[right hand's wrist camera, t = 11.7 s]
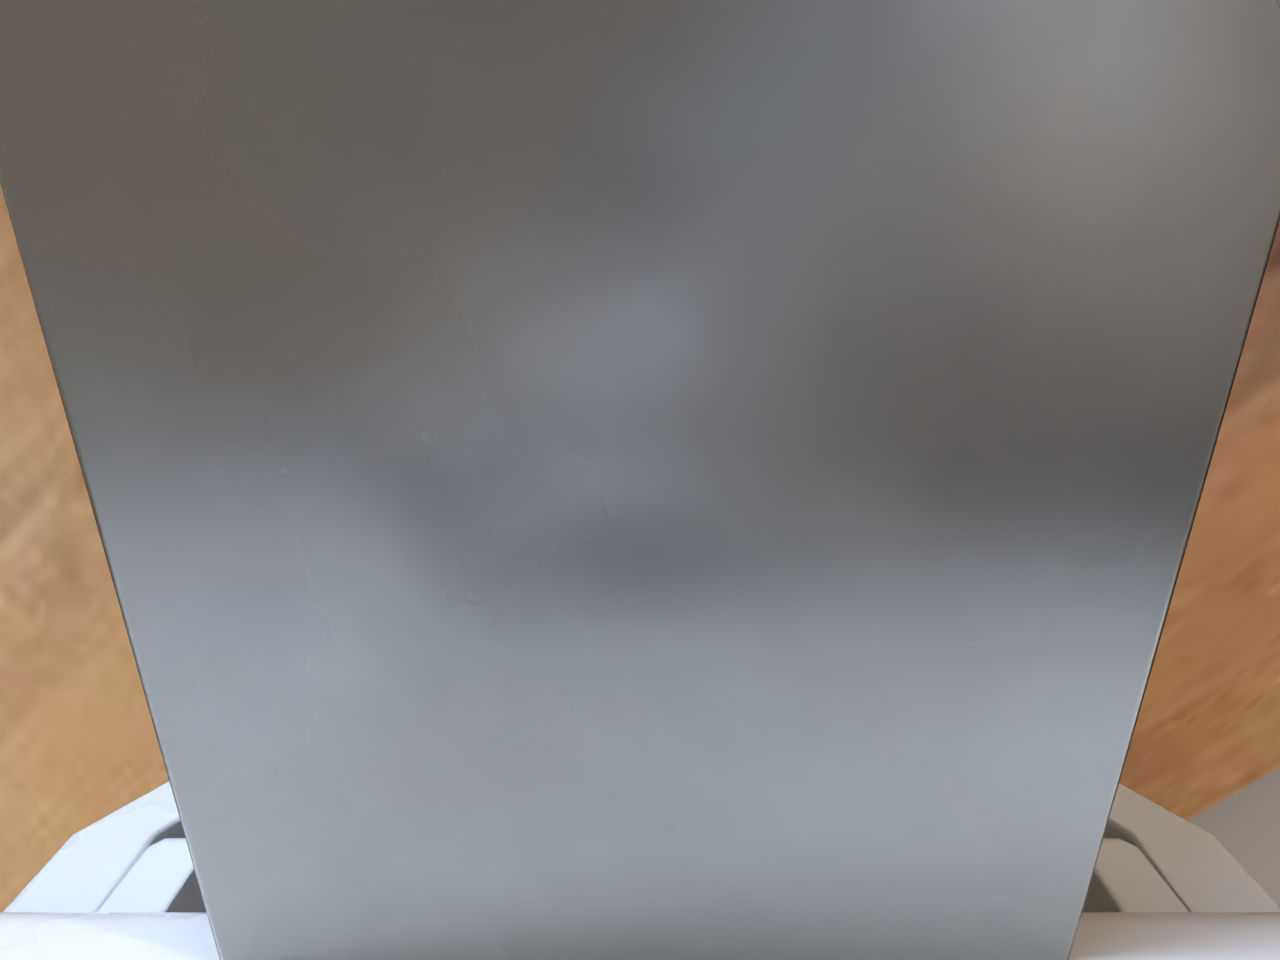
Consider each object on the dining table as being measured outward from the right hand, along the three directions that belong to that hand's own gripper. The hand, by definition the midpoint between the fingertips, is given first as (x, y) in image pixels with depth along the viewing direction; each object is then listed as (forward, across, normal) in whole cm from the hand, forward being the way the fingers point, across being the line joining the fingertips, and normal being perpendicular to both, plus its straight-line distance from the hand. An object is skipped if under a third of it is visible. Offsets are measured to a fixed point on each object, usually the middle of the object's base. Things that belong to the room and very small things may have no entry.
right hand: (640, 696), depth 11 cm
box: (+3, 0, -10) cm, 11 cm away
